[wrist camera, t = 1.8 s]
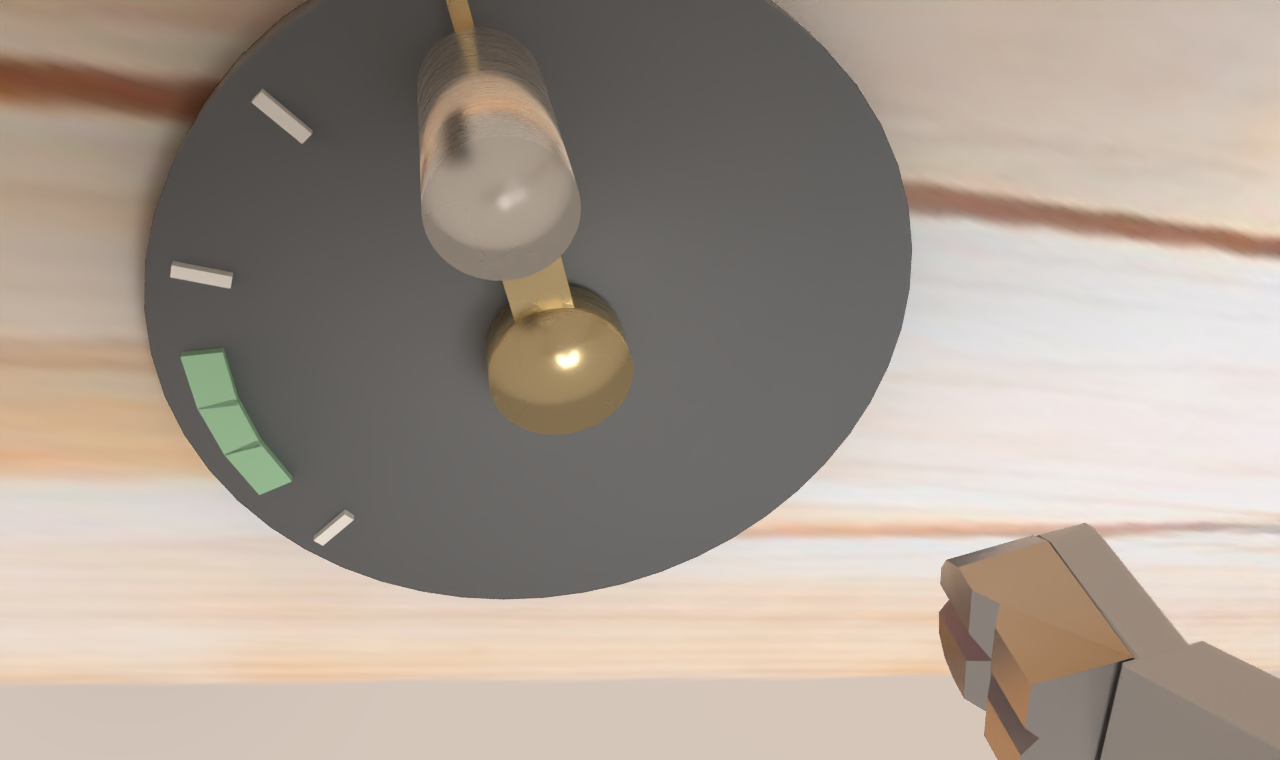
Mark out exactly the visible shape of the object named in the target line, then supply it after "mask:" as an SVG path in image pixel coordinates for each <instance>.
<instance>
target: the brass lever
mask: <svg viewBox="0 0 1280 760" xmlns="http://www.w3.org/2000/svg"><path fill="white" fill-rule="evenodd" d="M446 3H447V6H448V10H449V13H450V17H451V20H452V24H453V27H454V30H455V33H452V34H450V35H448V36H447V37H445V38H443V39H442V40H441V41H439V42H438V43H437V44H436V45H435V46H434V47H433V48H432V49H431V50H430V51H429V53H428V54H427V56H426V57H425V59H424V61H423V63H422V65H421V68H420V71H419V75H418V81H417V101H418V129H419V157H420V185H421V212H422V221H423V225H424V229H425V232H426V235H427V237H428V239H429V241H430V243H431V244H432V246H433V248H434V249H435V250H436V251H437V253H438V254H439V255H440V256H441V257H442V258H443V259H444V260H445V261H446V262H447V263H449V264H450V265H451V266H453V267H454V268H456V269H458V270H460V271H461V272H463V273H466V274H468V275H471V276H473V277H477V278H481V279H486V280H495V281H502V282H503V285H504V288H505V291H506V295H507V298H508V301H509V303H508V304H507V305H505V306H504V307H503V308H502V309H501V310H500V311H499V313H498V314H497V315H496V317H495V318H494V320H493V321H492V323H491V325H490V327H489V330H488V332H487V336H486V342H485V353H486V362H487V371H488V379H489V388H490V392H491V396H492V399H493V401H494V403H495V405H496V406H497V408H498V410H499V411H500V412H501V413H502V414H503V415H504V416H505V417H506V418H507V419H508V420H509V421H511V422H512V423H514V424H515V425H517V426H519V427H521V428H523V429H526V430H528V431H531V432H535V433H540V434H548V435H561V434H570V433H575V432H579V431H582V430H585V429H588V428H590V427H592V426H594V425H596V424H598V423H600V422H602V421H603V420H604V419H606V418H607V417H609V416H610V415H611V414H612V413H613V412H614V411H615V410H616V409H617V408H618V407H619V406H620V405H621V403H622V402H623V400H624V399H625V398H626V396H627V394H628V392H629V389H630V386H631V383H632V378H633V363H632V359H631V355H630V352H629V349H628V346H627V343H626V340H625V336H624V333H623V330H622V327H621V324H620V321H619V319H618V317H617V315H616V313H615V312H614V310H613V309H612V308H611V307H610V306H609V304H608V303H607V302H605V301H604V300H603V299H602V298H600V297H599V296H597V295H595V294H594V293H592V292H589V291H587V290H584V289H581V288H577V287H572V286H569V285H568V281H567V277H566V274H565V270H564V266H563V262H562V258H561V255H562V254H563V253H564V252H565V250H566V249H567V248H568V247H569V245H570V243H571V242H572V240H573V238H574V236H575V234H576V231H577V229H578V225H579V222H580V215H581V200H580V194H579V190H578V187H577V184H576V181H575V178H574V174H573V171H572V168H571V165H570V162H569V159H568V156H567V152H566V149H565V146H564V143H563V140H562V137H561V133H560V130H559V127H558V124H557V121H556V118H555V114H554V111H553V108H552V105H551V102H550V99H549V96H548V92H547V89H546V86H545V83H544V80H543V77H542V73H541V70H540V68H539V65H538V63H537V61H536V60H535V58H534V56H533V55H532V53H531V52H530V51H529V50H528V49H527V48H526V47H525V46H524V45H523V44H522V43H521V42H520V41H518V40H517V39H515V38H514V37H512V36H510V35H508V34H506V33H504V32H501V31H498V30H494V29H490V28H475V26H474V22H473V19H472V15H471V11H470V8H469V4H468V1H467V0H446Z"/></svg>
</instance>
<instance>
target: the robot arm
mask: <svg viewBox="0 0 1280 760" xmlns="http://www.w3.org/2000/svg"><path fill="white" fill-rule="evenodd" d="M940 584H941V586H942V588H943V590H944V591H945V593H946V595H947V597H948V598H949V601H948V602H947V603H946V604H945V605H944V607H943V608H942V609H941V610H940V612H939V635H940V639H941V643H942V647H943V652H944V656H945V659H946V662H947V664H948V666H949V669H950V671H951V674H952V676H953V678H954V680H955V682H956V684H957V686H958V688H959V690H960V692H961V693H962V695H963V697H964V698H965V699H966V700H968V701H970V702H972V703H973V704H975V705H976V706H978V707H980V708H981V709H983V710H985V711H986V719H985V720H986V721H985V731H984V736H985V738H986V739H987V741H988V743H989V745H990V747H991V748H992V750H993V752H994V754H995V756H996V757H997V759H998V760H1280V678H1278V677H1276V676H1274V675H1271V674H1269V673H1267V672H1265V671H1263V670H1261V669H1259V668H1257V667H1255V666H1253V665H1251V664H1249V663H1247V662H1245V661H1243V660H1241V659H1239V658H1237V657H1235V656H1233V655H1231V654H1229V653H1227V652H1224V651H1222V650H1220V649H1218V648H1216V647H1214V646H1212V645H1210V644H1208V643H1206V642H1204V641H1200V642H1196V643H1192V644H1188V643H1187V642H1186V640H1185V639H1184V638H1183V637H1182V635H1181V634H1180V633H1179V632H1178V630H1177V629H1176V628H1175V627H1174V626H1173V624H1172V623H1171V622H1170V621H1169V619H1168V618H1167V617H1166V616H1165V614H1164V613H1163V612H1162V611H1161V609H1160V608H1159V607H1158V606H1157V604H1156V603H1155V602H1154V601H1153V599H1152V598H1151V597H1150V596H1149V595H1148V593H1147V592H1146V591H1145V590H1144V588H1143V587H1142V586H1141V585H1140V583H1139V582H1138V581H1137V580H1136V578H1135V577H1134V576H1133V575H1132V573H1131V572H1130V571H1129V570H1128V568H1127V567H1126V566H1125V565H1124V564H1123V562H1122V561H1121V560H1120V559H1119V557H1118V556H1117V555H1116V554H1115V552H1114V551H1113V550H1112V549H1111V547H1110V546H1109V545H1108V544H1107V542H1106V541H1105V540H1104V539H1103V537H1102V536H1101V535H1100V534H1099V533H1098V531H1097V530H1096V529H1095V528H1093V527H1091V526H1089V525H1088V524H1086V523H1082V524H1077V525H1073V526H1070V527H1066V528H1062V529H1059V530H1055V531H1052V532H1048V533H1045V534H1041V535H1038V536H1033V535H1032V536H1029V537H1025V538H1022V539H1018V540H1015V541H1011V542H1008V543H1004V544H1001V545H997V546H994V547H990V548H987V549H983V550H980V551H976V552H973V553H969V554H966V555H962V556H959V557H955V558H952V559H948V560H946V561H945V563H944V565H943V566H942V568H941V582H940Z"/></svg>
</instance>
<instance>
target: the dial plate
mask: <svg viewBox="0 0 1280 760" xmlns="http://www.w3.org/2000/svg"><path fill="white" fill-rule="evenodd" d="M467 1H468V4H469V8H470V11H471V15H472V19H473V22H474V26H475V28H490V29H494V30H498V31H501V32H504V33H506V34H508V35H510V36H512V37H514V38H515V39H517V40H518V41H520V42H521V43H522V44H523V45H524V46H525V47H526V48H527V49H528V50H529V51H530V52H531V53H532V55H533V56H534V58H535V60H536V61H537V63H538V65H539V68H540V70H541V73H542V77H543V80H544V83H545V86H546V89H547V92H548V96H549V99H550V102H551V105H552V108H553V111H554V114H555V118H556V121H557V124H558V127H559V130H560V133H561V137H562V140H563V143H564V146H565V149H566V152H567V156H568V159H569V162H570V165H571V168H572V171H573V174H574V178H575V181H576V184H577V187H578V190H579V194H580V200H581V215H580V222H579V225H578V229H577V231H576V234H575V236H574V238H573V240H572V242H571V243H570V245H569V247H568V248H567V249H566V250H565V252H564V253H563V254H562V255H561V258H562V262H563V266H564V270H565V274H566V277H567V281H568V285H569V286H572V287H577V288H581V289H584V290H587V291H589V292H592V293H594V294H595V295H597V296H599V297H600V298H602V299H603V300H604V301H605V302H607V303H608V304H609V306H610V307H611V308H612V309H613V310H614V312H615V313H616V315H617V317H618V319H619V321H620V324H621V327H622V330H623V333H624V336H625V340H626V343H627V346H628V349H629V352H630V355H631V359H632V363H633V378H632V383H631V386H630V389H629V392H628V394H627V396H626V398H625V399H624V400H623V402H622V403H621V405H620V406H619V407H618V408H617V409H616V410H615V411H614V412H613V413H612V414H611V415H610V416H609V417H607V418H606V419H604V420H603V421H602V422H600V423H598V424H596V425H594V426H592V427H590V428H588V429H585V430H582V431H579V432H575V433H570V434H561V435H548V434H540V433H535V432H531V431H528V430H526V429H523V428H521V427H519V426H517V425H515V424H514V423H512V422H511V421H509V420H508V419H507V418H506V417H505V416H504V415H503V414H502V413H501V412H500V411H499V410H498V408H497V406H496V405H495V403H494V401H493V399H492V396H491V392H490V388H489V379H488V371H487V362H486V353H485V342H486V336H487V332H488V330H489V327H490V325H491V323H492V321H493V320H494V318H495V317H496V315H497V314H498V313H499V311H500V310H501V309H502V308H503V307H504V306H505V305H507V304H508V303H509V301H508V298H507V295H506V291H505V288H504V285H503V282H502V281H495V280H486V279H481V278H477V277H473V276H471V275H468V274H466V273H463V272H461V271H460V270H458V269H456V268H454V267H453V266H451V265H450V264H449V263H447V262H446V261H445V260H444V259H443V258H442V257H441V256H440V255H439V254H438V253H437V251H436V250H435V249H434V248H433V246H432V244H431V243H430V241H429V239H428V237H427V235H426V232H425V229H424V225H423V221H422V212H421V185H420V157H419V129H418V101H417V81H418V75H419V71H420V68H421V65H422V63H423V61H424V59H425V57H426V56H427V54H428V53H429V51H430V50H431V49H432V48H433V47H434V46H435V45H436V44H437V43H438V42H439V41H441V40H442V39H443V38H445V37H447V36H448V35H450V34H452V33H455V30H454V27H453V24H452V20H451V17H450V13H449V10H448V6H447V3H446V0H308V1H306V2H305V3H303V4H302V5H300V6H299V7H297V8H296V9H294V10H293V11H291V12H290V13H288V14H287V15H285V16H284V17H283V18H282V19H280V20H279V21H278V22H277V23H276V24H275V25H274V26H273V27H272V28H271V29H270V30H268V31H267V32H266V33H265V34H264V35H263V36H262V37H261V38H260V39H259V40H258V41H256V42H255V43H254V44H253V45H252V46H251V47H250V48H249V49H248V50H247V51H245V52H244V53H243V54H242V55H241V56H240V58H239V59H238V60H237V61H236V63H235V64H234V65H233V66H232V68H231V69H230V70H229V71H228V73H227V74H226V75H225V76H224V78H223V79H222V80H221V81H220V83H219V84H218V85H217V86H216V88H215V89H214V90H213V91H212V93H211V94H210V95H209V96H208V98H207V99H206V101H205V103H204V105H203V106H202V108H201V110H200V112H199V113H198V115H197V117H196V119H195V120H194V122H193V124H192V126H191V127H190V129H189V131H188V133H187V134H186V136H185V138H184V140H183V141H182V143H181V146H180V148H179V150H178V153H177V155H176V158H175V160H174V162H173V165H172V167H171V170H170V173H169V175H168V178H167V181H166V183H165V186H164V189H163V192H162V194H161V197H160V200H159V202H158V205H157V208H156V210H155V213H154V218H153V223H152V229H151V234H150V239H149V245H148V250H147V255H146V260H145V303H144V309H145V316H146V323H147V330H148V336H149V343H150V350H151V355H152V358H153V361H154V364H155V367H156V371H157V374H158V377H159V380H160V383H161V386H162V389H163V392H164V395H165V398H166V400H167V402H168V404H169V406H170V408H171V410H172V411H173V413H174V415H175V417H176V419H177V421H178V423H179V425H180V427H181V429H182V431H183V433H184V435H185V437H186V438H187V439H188V441H189V442H190V444H191V445H192V446H193V448H194V449H195V451H196V452H197V454H198V455H199V456H200V458H201V459H202V461H203V462H204V463H205V465H206V466H207V468H208V469H209V470H210V471H211V472H212V474H213V475H214V476H215V477H216V478H217V479H218V480H219V481H220V482H221V483H222V484H223V485H224V486H225V487H226V488H227V490H228V491H229V492H230V493H231V494H232V495H233V496H234V497H235V498H236V499H237V500H238V501H239V502H240V503H241V504H243V505H244V506H245V507H246V508H248V509H249V510H250V511H251V512H252V513H254V514H255V515H256V516H257V517H259V518H260V519H261V520H262V521H263V522H265V523H266V524H267V525H268V526H269V527H271V528H272V529H274V530H276V531H277V532H279V533H280V534H282V535H283V536H285V537H287V538H288V539H290V540H291V541H293V542H294V543H296V544H298V545H299V546H301V547H302V548H304V549H306V550H308V551H310V552H312V553H314V554H316V555H318V556H320V557H322V558H324V559H326V560H328V561H330V562H332V563H334V564H336V565H339V566H341V567H343V568H345V569H348V570H351V571H354V572H357V573H359V574H362V575H365V576H368V577H371V578H373V579H376V580H379V581H382V582H386V583H390V584H394V585H398V586H402V587H406V588H410V589H414V590H418V591H423V592H429V593H436V594H443V595H450V596H457V597H466V598H486V599H525V598H545V597H553V596H561V595H569V594H576V593H584V592H588V591H593V590H597V589H602V588H606V587H611V586H615V585H620V584H624V583H627V582H630V581H633V580H637V579H640V578H643V577H646V576H649V575H652V574H656V573H659V572H662V571H664V570H666V569H669V568H671V567H674V566H676V565H678V564H681V563H683V562H686V561H688V560H690V559H693V558H695V557H698V556H700V555H701V554H703V553H705V552H707V551H709V550H711V549H713V548H715V547H717V546H718V545H720V544H722V543H724V542H726V541H728V540H730V539H732V538H733V537H735V536H737V535H738V534H740V533H741V532H743V531H744V530H746V529H747V528H749V527H750V526H752V525H753V524H755V523H756V522H758V521H759V520H761V519H763V518H764V517H766V516H767V515H768V514H769V513H771V512H772V511H773V510H774V509H776V508H777V507H778V506H779V505H781V504H782V503H783V502H784V501H786V500H787V499H788V498H789V497H791V496H792V495H793V494H794V493H796V492H797V491H798V490H799V489H800V488H801V487H802V486H803V485H804V484H805V483H806V482H807V481H808V480H809V479H810V478H811V477H812V476H813V475H814V474H815V473H816V472H817V471H818V470H819V469H820V468H821V467H822V466H823V465H824V464H825V463H826V462H827V461H828V460H829V458H830V457H831V456H832V455H833V453H834V452H835V451H836V450H837V449H838V447H839V446H840V445H841V444H842V443H843V441H844V440H845V439H846V438H847V436H848V435H849V434H850V433H851V431H852V429H853V428H854V426H855V425H856V423H857V422H858V420H859V419H860V417H861V416H862V414H863V413H864V411H865V409H866V408H867V406H868V405H869V403H870V402H871V400H872V398H873V396H874V394H875V392H876V390H877V388H878V386H879V384H880V382H881V380H882V378H883V376H884V374H885V372H886V370H887V368H888V366H889V363H890V360H891V357H892V354H893V351H894V348H895V346H896V343H897V340H898V337H899V334H900V331H901V328H902V323H903V318H904V314H905V309H906V304H907V299H908V294H909V289H910V272H911V256H912V243H911V232H910V220H909V209H908V204H907V199H906V195H905V191H904V187H903V183H902V179H901V175H900V171H899V167H898V164H897V161H896V159H895V157H894V154H893V152H892V149H891V147H890V145H889V142H888V140H887V137H886V135H885V133H884V130H883V128H882V126H881V124H880V122H879V120H878V119H877V117H876V115H875V114H874V112H873V111H872V109H871V107H870V106H869V104H868V103H867V101H866V99H865V98H864V96H863V95H862V93H861V91H860V90H859V88H858V86H857V85H856V84H855V83H854V81H853V80H852V79H851V78H850V77H849V76H848V74H847V73H846V72H845V71H844V70H843V69H842V68H841V66H840V65H839V64H838V63H837V62H836V61H835V59H834V58H833V57H832V56H831V55H830V54H829V53H828V51H827V50H826V49H825V48H824V47H823V46H822V45H821V44H820V43H819V42H818V41H817V40H816V39H815V38H814V37H813V36H812V35H811V34H810V33H809V32H808V31H807V30H806V29H804V28H803V27H802V26H801V25H800V24H798V23H797V22H796V21H795V20H794V19H793V18H791V17H790V16H789V15H788V14H787V13H785V12H784V11H783V10H782V9H781V8H780V7H778V6H777V5H776V4H775V3H774V2H772V1H771V0H467Z"/></svg>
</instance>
